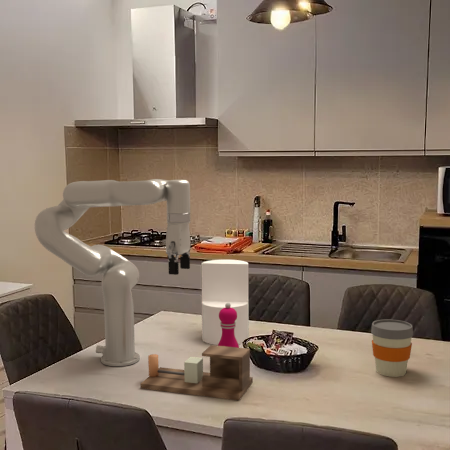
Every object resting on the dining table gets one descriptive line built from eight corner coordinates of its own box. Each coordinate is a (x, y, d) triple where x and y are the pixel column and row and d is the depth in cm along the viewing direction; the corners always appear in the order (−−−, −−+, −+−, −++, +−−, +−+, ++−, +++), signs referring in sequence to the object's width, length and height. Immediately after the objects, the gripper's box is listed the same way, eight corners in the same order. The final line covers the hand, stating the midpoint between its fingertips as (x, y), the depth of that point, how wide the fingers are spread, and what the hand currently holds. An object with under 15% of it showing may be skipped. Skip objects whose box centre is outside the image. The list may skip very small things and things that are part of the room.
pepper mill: (237, 367, 193) (236, 306, 190) (215, 365, 194) (214, 305, 192) (241, 359, 200) (240, 300, 197) (219, 358, 201) (219, 299, 199)
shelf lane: (140, 388, 176) (139, 350, 175) (160, 371, 189) (159, 336, 188) (239, 400, 167) (239, 361, 165) (252, 382, 180) (252, 345, 179)
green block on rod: (145, 377, 180) (145, 358, 179) (152, 371, 185) (152, 352, 184) (197, 383, 175) (197, 363, 174) (203, 377, 180) (203, 357, 179)
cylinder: (206, 330, 233) (205, 259, 230) (250, 332, 231) (250, 259, 227) (198, 344, 216) (197, 267, 213) (246, 346, 214) (245, 268, 210)
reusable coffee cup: (414, 367, 191) (416, 321, 189) (408, 381, 180) (410, 332, 178) (374, 362, 196) (375, 317, 195) (366, 375, 185) (367, 327, 183)
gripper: (178, 215, 201) (178, 266, 203) (156, 221, 185) (157, 276, 187) (199, 216, 199) (199, 267, 201) (179, 221, 183) (180, 277, 185)
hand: (179, 271), depth 194 cm, fingers open, 9 cm apart
